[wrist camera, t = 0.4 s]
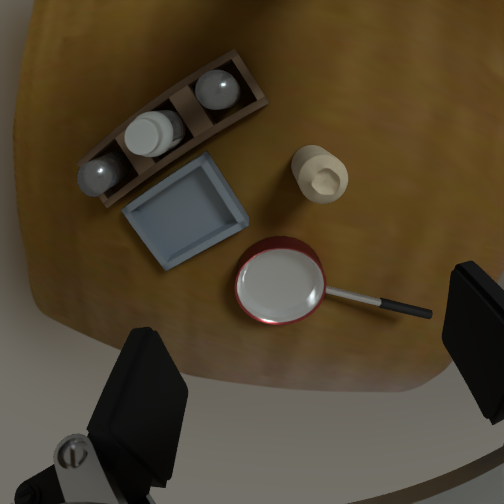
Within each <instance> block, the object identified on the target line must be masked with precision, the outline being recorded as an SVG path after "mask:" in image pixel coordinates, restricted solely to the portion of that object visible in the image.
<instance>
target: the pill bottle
mask: <svg viewBox="0 0 504 504" xmlns="http://www.w3.org/2000/svg"><path fill="white" fill-rule="evenodd" d="M185 132H186V126H185V122H184V121H183V119H182V118H181V116H180V115H179V114H178V113H176V112H175V111H171V110H161V111H150V112H145V113H143V114H141V115H139V116H138V117H137V118H136V119H135V120H134V121H133V122H132V123H131V124H130V125H129V126H128V127H127V129H126V131H125V143H126V146H127V147H128V149H129V150H130V151H131V152H133V153H134V154H137V155H142V156H145V157H155V156H159V155H161V154H163V153H165V152H166V151H168V150H170V149H172V148H174V147H175V146H177V145H178V144H179V143H180V142H181V141H182V140H183V138H184V136H185Z"/></svg>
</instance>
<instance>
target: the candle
mask: <svg viewBox="0 0 504 504" xmlns="http://www.w3.org/2000/svg"><path fill="white" fill-rule="evenodd" d="M291 168H292V172H293V175H294V177H295V179H296V181H297V183H298V185H299V187H300V189H301V191H302V193H303V194H304V196H305V197H306V198H308V199H309V200H310V201H312V202H315V203H319V204H326V203H330V202H333V201H335V200H337V199H338V198H339V197H340V196H341V195H342V194H343V193H344V191H345V190H346V187H347V184H348V174H347V170H346V168H345V166H344V165H343V163H342V162H341V161H340V160H338V159H337V158H336V157H334V156H333V155H332V154H330V153H329V152H327V151H326V150H324V149H323V148H321V147H319V146H315V145H308V146H304V147H302V148H300V149H299V150H298V151H297V152H296V153H295V154H294V156H293V158H292V162H291Z"/></svg>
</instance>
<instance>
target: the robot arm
mask: <svg viewBox="0 0 504 504" xmlns="http://www.w3.org/2000/svg"><path fill="white" fill-rule="evenodd" d="M442 341H443V344H444V346H445V347H446V349H447V351H448V352H449V354H450V356H451V357H452V359H453V361H454V363H455V364H456V366H457V368H458V369H459V371H460V373H461V375H462V376H463V378H464V380H465V382H466V383H467V385H468V387H469V389H470V391H471V393H472V395H473V396H474V398H475V400H476V402H477V404H478V406H479V408H480V410H481V412H482V414H483V416H484V417H485V418H487V419H490V421H491V423H492V425H494V424H496V423H498V422H500V421H502V420H503V419H504V290H503V289H502V288H501V287H500V286H499V285H498V284H497V283H496V282H495V281H494V280H493V279H492V278H491V277H490V276H489V275H488V274H487V273H485V272H484V271H483V270H482V269H481V268H480V267H479V266H478V265H477V264H476V263H475V262H473V261H467V262H464V263H460V264H457V265H456V266H455V268H454V270H453V271H452V272H451V276H450V285H449V293H448V301H447V308H446V314H445V320H444V326H443V332H442ZM187 398H188V388H187V385H186V383H185V381H184V380H183V378H182V376H181V374H180V373H179V371H178V369H177V367H176V365H175V364H174V362H173V360H172V358H171V356H170V355H169V353H168V351H167V349H166V347H165V345H164V343H163V341H162V339H161V338H160V336H159V334H158V332H157V331H153V330H152V328H150V327H143V328H135V329H132V330H131V332H130V334H129V336H128V338H127V340H126V342H125V344H124V346H123V348H122V350H121V352H120V355H119V357H118V359H117V361H116V363H115V365H114V367H113V370H112V372H111V374H110V376H109V378H108V380H107V383H106V385H105V387H104V389H103V392H102V394H101V396H100V398H99V401H98V403H97V405H96V408H95V410H94V412H93V415H92V417H91V419H90V422H89V424H88V427H87V430H88V432H89V433H88V436H87V437H86V436H85V435H83V434H72V435H69V436H67V437H66V438H64V439H63V440H61V442H60V443H59V444H58V445H57V447H56V449H55V451H54V456H53V457H54V464H53V465H52V466H50V467H48V468H47V469H45V470H43V471H42V472H40V473H38V474H37V475H35V476H33V477H31V478H29V479H28V480H26V481H24V482H23V483H22V484H20V486H19V487H18V488H17V490H16V493H15V498H14V500H15V504H156V503H155V502H154V500H153V499H152V497H151V495H150V494H149V491H150V487H151V486H152V487H162V488H166V483H167V480H170V479H171V477H172V473H173V467H174V462H175V457H176V452H177V447H178V442H179V437H180V432H181V427H182V422H183V416H184V412H185V408H186V403H187ZM11 504H13V503H11ZM348 504H504V445H503V446H502V447H501V448H499V449H497V450H495V451H493V452H491V453H489V454H487V455H486V456H483V457H481V458H480V459H477V460H475V461H473V462H471V463H469V464H467V465H465V466H462V467H460V468H458V469H456V470H453V471H451V472H449V473H446V474H444V475H441V476H439V477H436V478H434V479H431V480H428V481H426V482H423V483H420V484H417V485H414V486H411V487H408V488H405V489H402V490H398V491H395V492H392V493H388V494H385V495H381V496H377V497H374V498H370V499H365V500H361V501H357V502H353V503H348Z"/></svg>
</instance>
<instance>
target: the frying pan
mask: <svg viewBox="0 0 504 504" xmlns="http://www.w3.org/2000/svg"><path fill="white" fill-rule="evenodd" d="M325 293H329V294H333V295H337V296H341V297H345V298H349V299H353V300H357V301H361V302H365V303H369V304H373V305H377V306H378V307H380V308H383V309H387V310H392V311H396V312H400V313H404V314H409V315H413V316H417V317H422V318H426V319H430V318H432V314H433V313H432V310H429V309H425V308H421V307H417V306H413V305H408V304H404V303H400V302H396V301H392V300H388V299H384V298H380V299H378V298H374V297H370V296H366V295H362V294H358V293H354V292H350V291H346V290H342V289H338V288H334V287H330V286H327V284H326V277H325V274H324V271H323V268H322V265H321V262H320V260H319V257H318V256H317V254H316V253H315V251H314V250H313V249H312V248H311V247H310V246H309V245H307V244H306V243H304V242H303V241H300V240H298V239H295V238H292V237H286V236H275V237H270V238H266V239H263V240H261V241H258V242H257V243H255V244H254V245H252V246H251V247H250V248H249V249H247V250H246V251H245V253H244V254H243V256H242V257H241V259H240V261H239V263H238V266H237V272H236V279H235V295H236V299H237V301H238V303H239V305H240V307H241V308H242V309H243V310H244V311H245V313H247V314H248V315H249V316H250V317H252V318H254V319H255V320H257V321H260V322H263V323H266V324H271V325H286V324H292V323H295V322H298V321H301V320H303V319H304V318H306V317H308V316H309V315H311V314H312V313H313V312H314V311H315V310H316V309H317V308H318V307H319V306H320V304H321V302H322V301H323V299H324V296H325Z"/></svg>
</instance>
